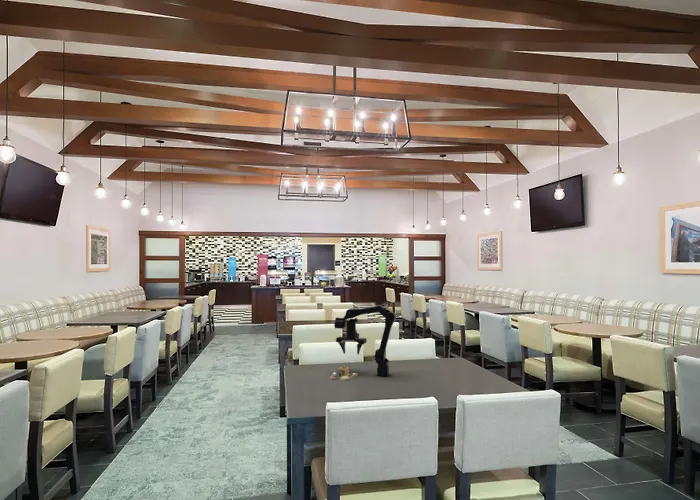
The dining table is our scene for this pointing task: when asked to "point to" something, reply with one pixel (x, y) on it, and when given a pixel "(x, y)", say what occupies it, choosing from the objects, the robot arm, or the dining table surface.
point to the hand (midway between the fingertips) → (351, 354)
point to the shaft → (336, 374)
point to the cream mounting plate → (350, 376)
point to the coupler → (344, 370)
